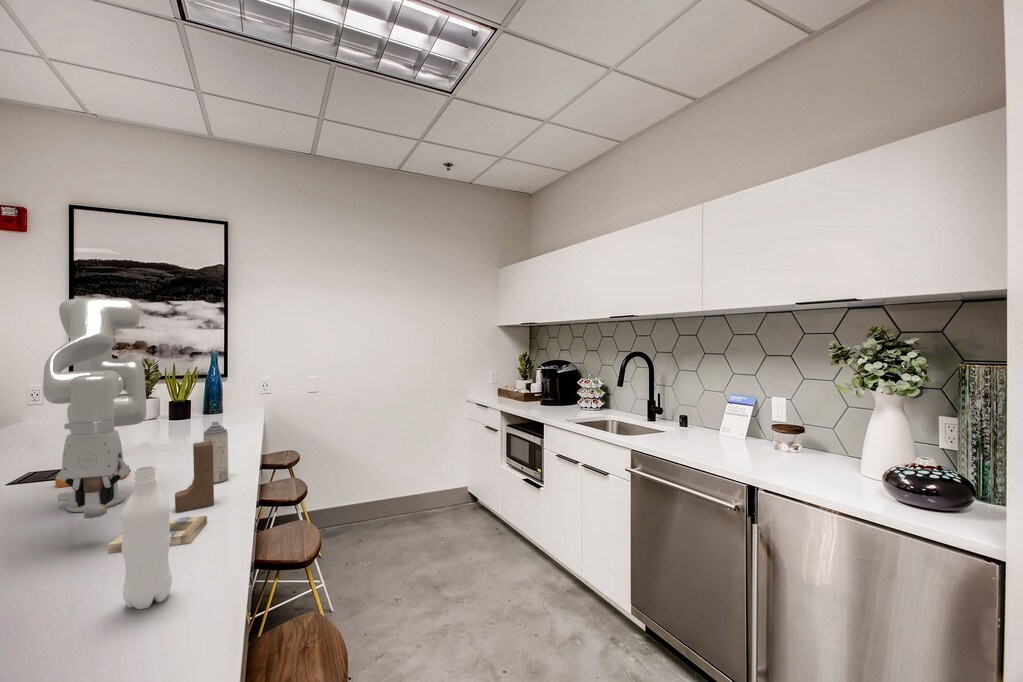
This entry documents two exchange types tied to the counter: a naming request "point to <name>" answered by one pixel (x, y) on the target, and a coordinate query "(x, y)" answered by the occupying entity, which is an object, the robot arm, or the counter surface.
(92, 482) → the two-tone cylinder
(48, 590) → the counter surface
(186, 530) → the board
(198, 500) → the wooden block
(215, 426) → the aerosol can
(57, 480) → the multimeter
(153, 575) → the water bottle
